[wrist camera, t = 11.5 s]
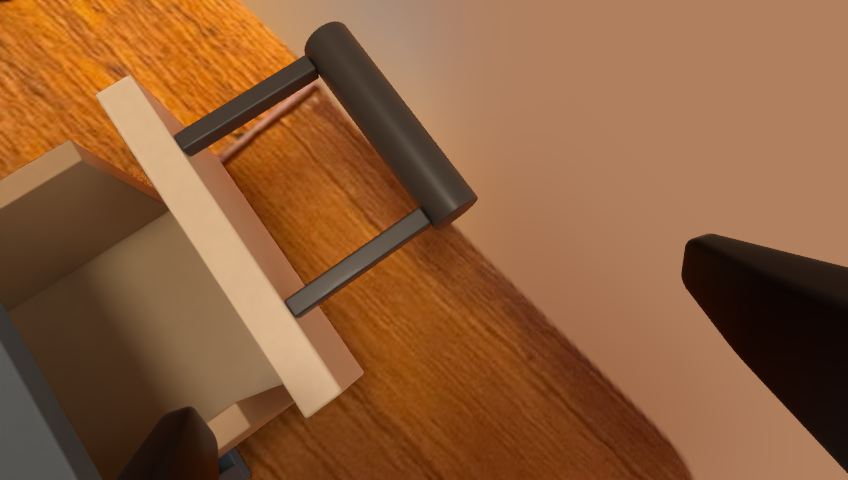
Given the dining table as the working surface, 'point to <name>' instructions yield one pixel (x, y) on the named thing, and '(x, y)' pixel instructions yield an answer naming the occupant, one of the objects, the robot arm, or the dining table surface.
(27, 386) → the cabinet
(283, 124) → the dining table surface
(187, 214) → the drawer
